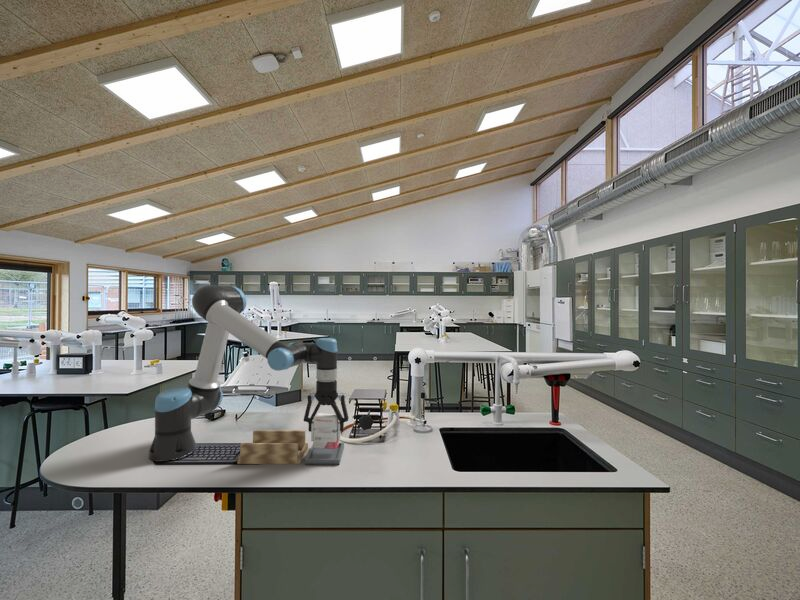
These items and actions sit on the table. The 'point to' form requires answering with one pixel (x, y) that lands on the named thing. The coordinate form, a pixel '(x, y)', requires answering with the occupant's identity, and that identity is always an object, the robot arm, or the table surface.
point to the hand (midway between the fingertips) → (326, 439)
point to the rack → (274, 447)
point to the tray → (324, 456)
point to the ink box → (325, 431)
